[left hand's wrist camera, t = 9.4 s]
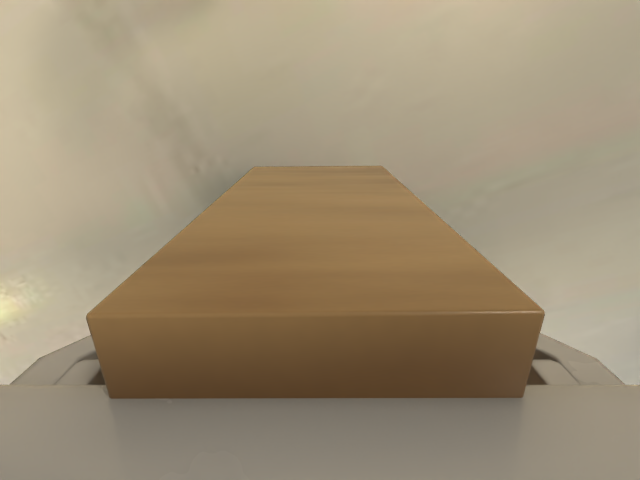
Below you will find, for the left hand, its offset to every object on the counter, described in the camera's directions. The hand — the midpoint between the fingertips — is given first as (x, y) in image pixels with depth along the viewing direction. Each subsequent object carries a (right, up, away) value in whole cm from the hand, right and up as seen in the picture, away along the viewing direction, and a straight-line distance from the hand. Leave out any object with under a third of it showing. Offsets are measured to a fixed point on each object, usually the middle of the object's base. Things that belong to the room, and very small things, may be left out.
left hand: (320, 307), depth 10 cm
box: (0, -7, +10) cm, 12 cm away
